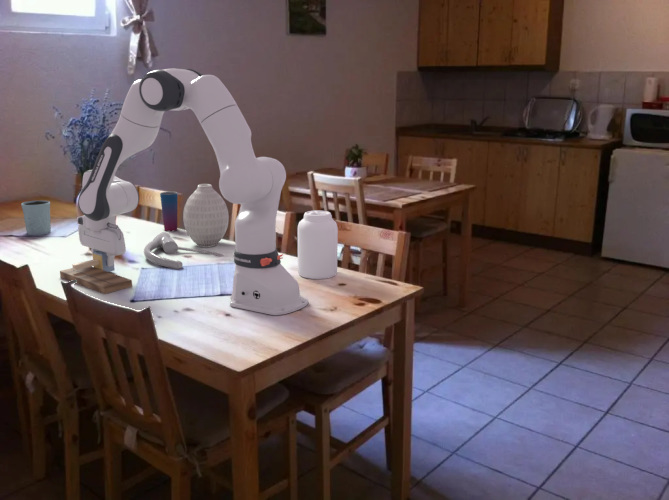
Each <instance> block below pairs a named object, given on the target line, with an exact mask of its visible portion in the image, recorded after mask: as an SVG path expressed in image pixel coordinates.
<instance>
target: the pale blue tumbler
mask: <svg viewBox="0 0 669 500" xmlns="http://www.w3.org/2000/svg"><path fill="white" fill-rule="evenodd" d="M20 206H21V208H22V214H23V219H24V225H25V231H26V234H27V235H29V236H43V235H49V234H50V233H51V232H52V229H51V201H49V200H30V201H29V200H28V201H24V202H22V203H21V204H20Z"/></svg>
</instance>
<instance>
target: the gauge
mask: <svg viewBox="0 0 669 500" xmlns="http://www.w3.org/2000/svg"><path fill="white" fill-rule="evenodd" d="M91 255H92V259H90V260H86V261H81V262H77V263H73V264H71V265H72V268H73V269H74V270H79V269H82V268H87V267H91V266H92V267H95V268H98V269H101V270H104V271H107V272H110V273H112V272H115V259H114V260H113V264H114V265H113V266H107V265H106V260H107V258H108V256H107V253H105V252H102V251H94V252H93V253H92V252H91Z"/></svg>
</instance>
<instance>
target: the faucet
mask: <svg viewBox="0 0 669 500" xmlns="http://www.w3.org/2000/svg"><path fill="white" fill-rule="evenodd" d="M159 248H162V249H163V251H164V252H165V253H166V254H176V253H177V252H178V251H180V250H181V251H187V252H192V253H194V252H195V253H201V254H205V255H206V254H208V255H214V256H215V257H223V256H224V254H222V253H220V252H215V251H209V250H203V249H195V248H189V247H183V246H179V245H178V244H177V243H176V241H175V240H174V239H173V238H172V237H171V235H170V234H169V233H168V232H167V231H166V232H165V231H163V232H161V233H159V234H157V235H156V236H155V237H154V238H153V239H152V240H151V241H150V242H148V243H147V244H146V245H145V247H144V248H143V255H144V257H145V258H146V259H147V260H148V261H149V262H152V263H153V264H156V265H159V266H161V267H164V268H168V269H175V270H180V269H182V268H183V262H182V261H181V260H173V259H169V258H166V257H162V256H159V255H158V254H155V253H153V250H155V249H159Z"/></svg>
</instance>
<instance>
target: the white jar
mask: <svg viewBox="0 0 669 500" xmlns="http://www.w3.org/2000/svg"><path fill="white" fill-rule="evenodd" d="M338 231H339V228H338V224H337V222H336V221H335V220H334V219H333V215H332V213H331V212H330V211H327V210H319V209H318V210H317V209H316V210H308V211H305V212H304V214H303V218H302V219H301V220H299V222H298V225H297V272H298V276H300V277H303V278H305V279H310V280H312V279H313V280H325V279H329V278H333V277H334V276H336V275H337V273H338V245H339V243H338V238H339V237H338V236H339V235H338V234H339V232H338Z"/></svg>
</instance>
